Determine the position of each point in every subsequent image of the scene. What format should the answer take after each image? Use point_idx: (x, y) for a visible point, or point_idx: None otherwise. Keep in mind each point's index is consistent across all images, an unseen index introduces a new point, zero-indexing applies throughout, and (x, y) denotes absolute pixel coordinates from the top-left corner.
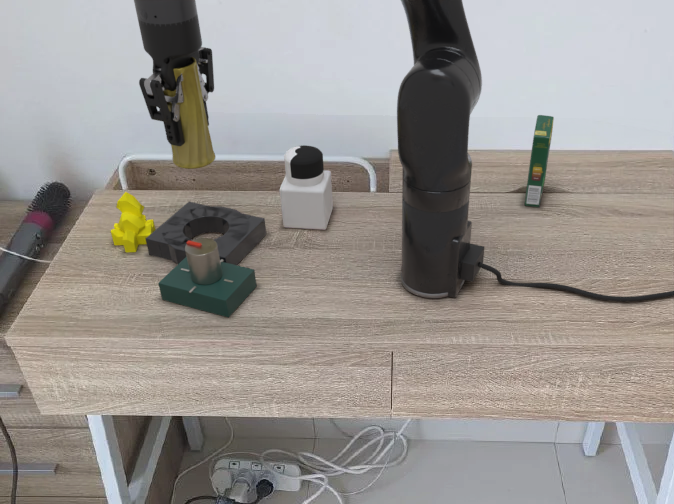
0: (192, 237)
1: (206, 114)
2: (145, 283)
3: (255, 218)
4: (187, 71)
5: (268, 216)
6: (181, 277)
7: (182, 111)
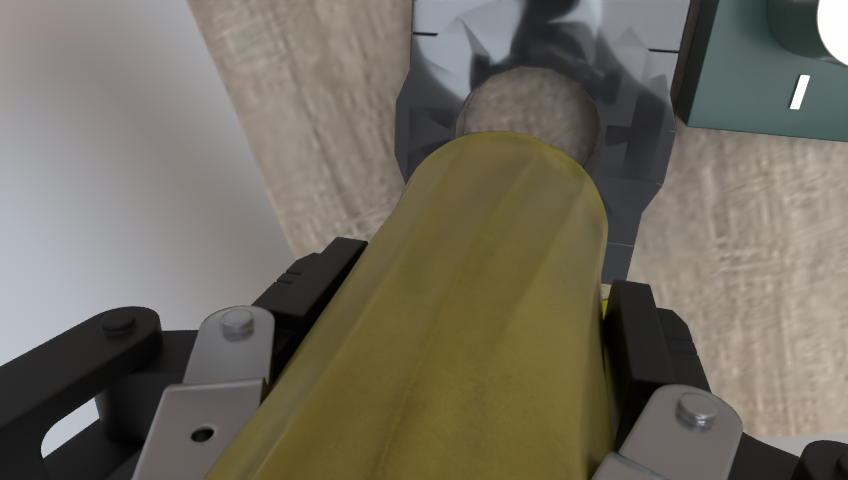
0: None
1: (317, 268)
2: (764, 214)
3: (425, 8)
4: None
5: (335, 24)
6: (844, 85)
7: (598, 402)
